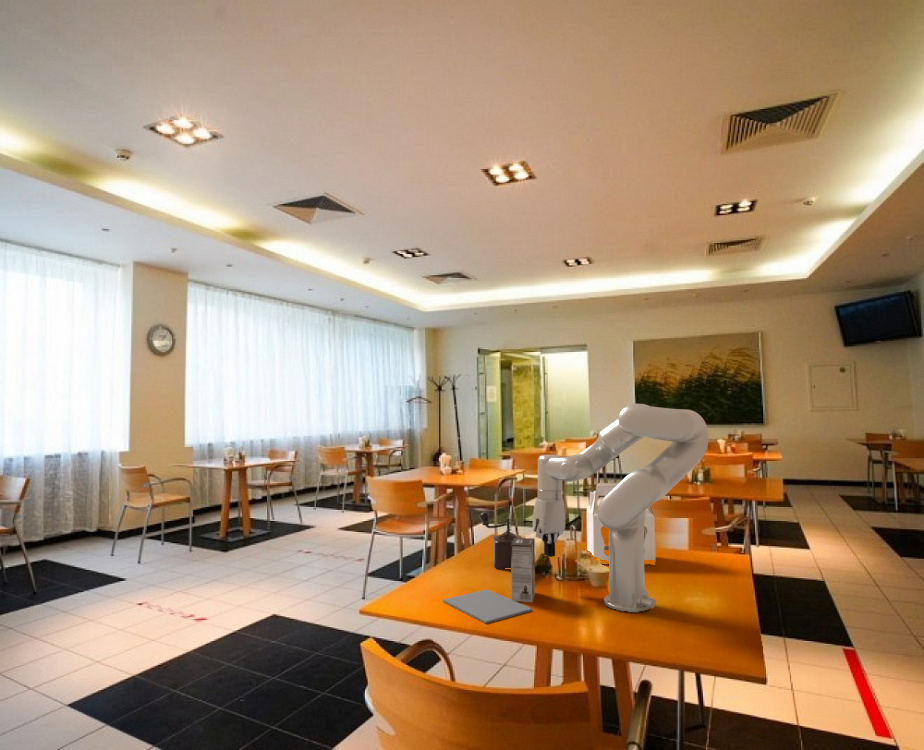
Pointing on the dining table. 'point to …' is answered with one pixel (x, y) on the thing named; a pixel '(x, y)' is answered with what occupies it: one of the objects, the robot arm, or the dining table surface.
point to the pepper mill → (500, 543)
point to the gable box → (594, 525)
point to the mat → (487, 606)
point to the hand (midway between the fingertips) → (549, 555)
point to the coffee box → (523, 569)
